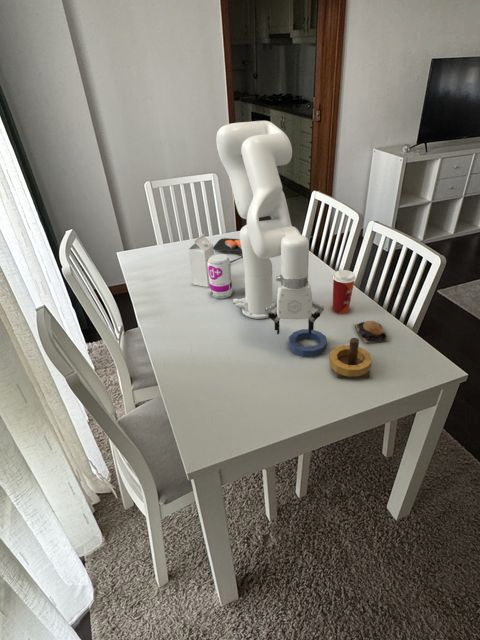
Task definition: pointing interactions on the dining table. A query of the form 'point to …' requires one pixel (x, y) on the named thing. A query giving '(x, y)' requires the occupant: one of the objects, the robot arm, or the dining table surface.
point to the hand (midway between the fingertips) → (294, 331)
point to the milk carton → (200, 260)
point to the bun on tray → (371, 332)
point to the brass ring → (350, 369)
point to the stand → (352, 359)
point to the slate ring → (307, 351)
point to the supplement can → (220, 276)
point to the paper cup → (342, 290)
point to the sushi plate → (229, 246)
